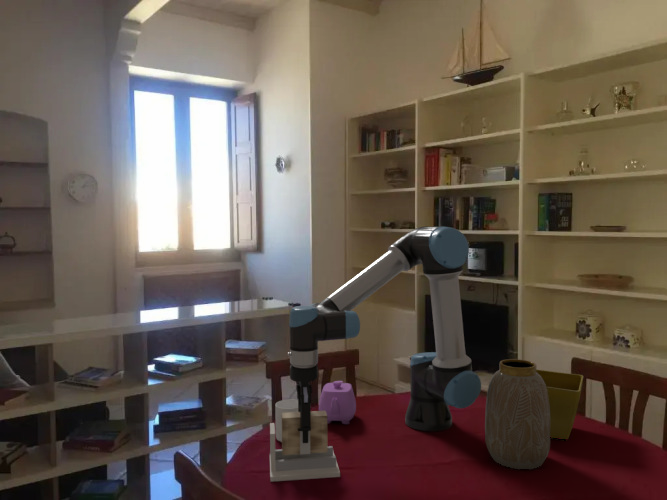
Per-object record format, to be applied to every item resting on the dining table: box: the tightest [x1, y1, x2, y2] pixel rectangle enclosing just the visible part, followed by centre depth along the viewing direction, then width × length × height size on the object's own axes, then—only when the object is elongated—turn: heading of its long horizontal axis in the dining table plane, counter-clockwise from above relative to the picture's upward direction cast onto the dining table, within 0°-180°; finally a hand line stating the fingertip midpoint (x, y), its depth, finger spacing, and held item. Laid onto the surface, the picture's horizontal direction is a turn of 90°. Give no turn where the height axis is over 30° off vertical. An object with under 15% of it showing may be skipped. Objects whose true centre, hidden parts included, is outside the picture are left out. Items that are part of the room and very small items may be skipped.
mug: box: [274, 398, 298, 443], centre depth 168 cm, size 9×12×11 cm
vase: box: [484, 358, 551, 470], centre depth 152 cm, size 17×17×27 cm
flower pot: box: [536, 369, 584, 440], centre depth 173 cm, size 19×19×17 cm
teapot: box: [318, 380, 357, 425], centre depth 184 cm, size 20×12×13 cm, turn 174°
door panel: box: [281, 410, 329, 455], centre depth 149 cm, size 12×4×10 cm, turn 97°
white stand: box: [269, 422, 341, 483], centre depth 149 cm, size 18×14×11 cm
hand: (304, 449), depth 149 cm, fingers closed on door panel, 4 cm apart
